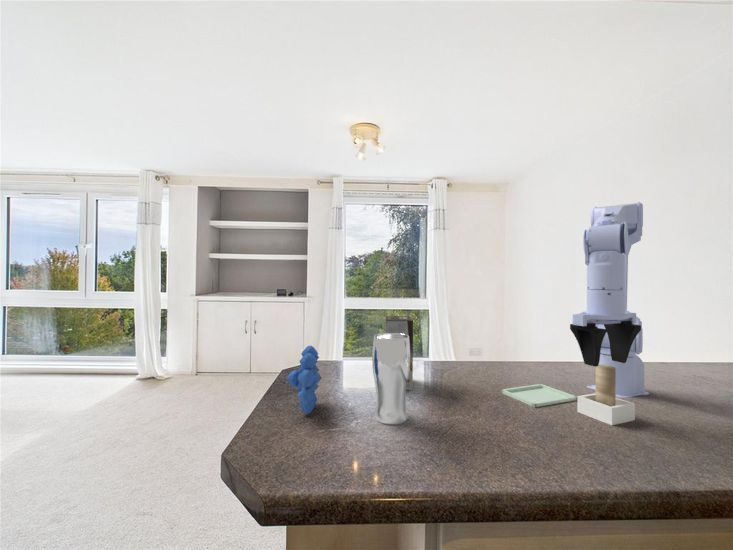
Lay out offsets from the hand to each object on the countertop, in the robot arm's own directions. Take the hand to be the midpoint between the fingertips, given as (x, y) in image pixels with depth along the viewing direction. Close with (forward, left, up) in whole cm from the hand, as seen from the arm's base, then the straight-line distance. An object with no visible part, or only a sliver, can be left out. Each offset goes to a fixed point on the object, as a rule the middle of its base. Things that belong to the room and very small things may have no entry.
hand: (605, 363), depth 61 cm
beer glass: (+37, -14, -10) cm, 41 cm away
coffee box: (+27, -31, -10) cm, 42 cm away
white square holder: (0, 0, -10) cm, 10 cm away
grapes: (+51, -24, -10) cm, 57 cm away
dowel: (0, 0, -10) cm, 10 cm away
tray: (+3, -12, -10) cm, 16 cm away
